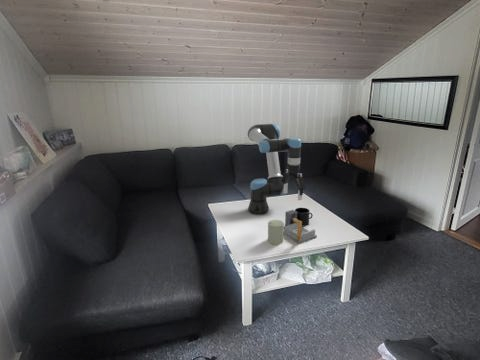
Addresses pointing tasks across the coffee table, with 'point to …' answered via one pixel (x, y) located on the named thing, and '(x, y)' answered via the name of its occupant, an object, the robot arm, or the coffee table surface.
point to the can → (275, 232)
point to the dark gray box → (290, 217)
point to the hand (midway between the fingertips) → (292, 196)
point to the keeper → (298, 232)
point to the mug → (303, 215)
